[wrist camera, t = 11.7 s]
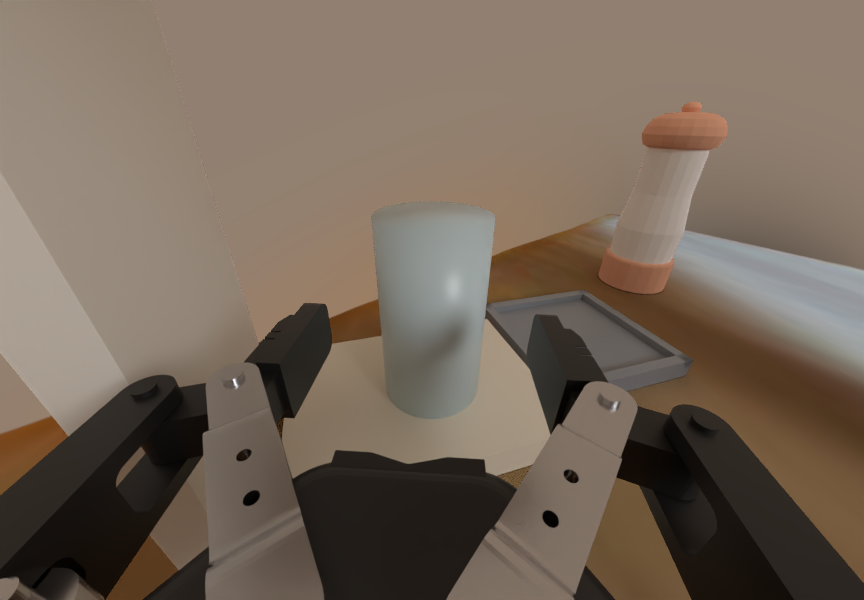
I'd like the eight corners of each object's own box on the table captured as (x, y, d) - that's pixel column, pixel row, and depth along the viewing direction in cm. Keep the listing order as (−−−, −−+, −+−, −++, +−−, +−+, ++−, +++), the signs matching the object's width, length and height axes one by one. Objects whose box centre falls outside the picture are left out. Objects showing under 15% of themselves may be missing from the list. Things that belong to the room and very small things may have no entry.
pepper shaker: (668, 280, 40) (743, 103, 31) (657, 300, 36) (742, 98, 26) (607, 264, 45) (657, 104, 35) (590, 281, 40) (642, 100, 30)
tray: (580, 302, 35) (583, 289, 34) (685, 375, 25) (693, 360, 24) (480, 318, 32) (482, 304, 31) (555, 410, 22) (560, 393, 21)
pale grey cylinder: (457, 346, 24) (466, 199, 19) (493, 405, 19) (519, 227, 14) (379, 361, 23) (364, 205, 17) (396, 430, 18) (383, 239, 12)
